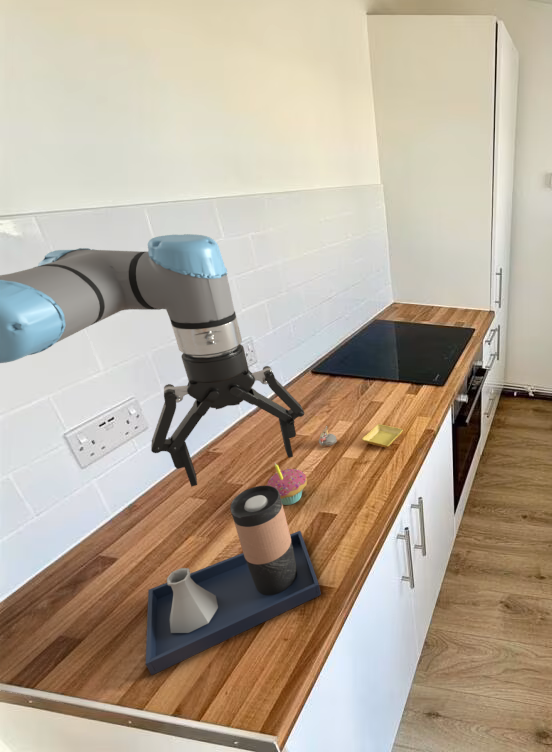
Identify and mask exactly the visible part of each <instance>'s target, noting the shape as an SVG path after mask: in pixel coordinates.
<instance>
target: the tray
mask: <svg viewBox="0 0 552 752" xmlns="http://www.w3.org/2000/svg"><path fill="white" fill-rule="evenodd" d="M290 536H291V541H292V546H293V551H294V557H295V562H296V567H297V576H296V579H295V581H294V582H293V584H292V585H291V586H290V587H289V588H287V589H286V590H284V591H283V592H281V593H278V594H275V595H263V594H261V593H259V592H258V590H257V589H256V586H255V584H254V581H253V579H252V576H251V573H250V570H249V568H248V565H247V562H246V560H245V557H244V554H243V552H241V553H239V554H237V555H234V556H231V557H229V558H226V559H223V560H221V561H219V562H216V563H214V564H211V565H209V566H206V567H203V568H200V569H198V570H195V571H194V572H190V578H191V579H192V580H193V581H194V582H195V583H196V584H197V585H199V586H200V587H202V588H203V589H205V590H207V591H208V592H210V593H212V594H214V595H215V596H216V600H217V604H218V609H217V610H216V612H215V613H214V615H213V617H212V618H211V620H210V622H209V623H208V624H206V625H204V626H202V627H200V628H198V629H196V630H194V631H191V632H189V633H171V629H170V614H171V608H172V601H173V590H172V587H171V586H168V584H167V582H165V583H162V584H160V585H157V586H155V587H151V588H149V589H148V591H147V593H148V594H147V615H146V616H147V618H146V641H145V643H146V646H145V666H146V668H147V670H148V672H149V673H150V675H151V676H153V675H155V674H158V673H160V672H162V671H164V670H166V669H168V668H171V667H172V666H174V665H176V664H179V663H181V662H183V661H185V660H187V659H189V658H191V657H193V656H196V655H198V654H200V653H202V652H204V651H206V650H209V649H211V648H213V647H214V646H217V645H219V644H221V643H223V642H225V641H228V640H229V639H231V638H234V637H236V636H238V635H240V634H241V633H243V632H246V631H248V630H250V629H253V628H254V627H257V626H259V625H261V624H263V623H265V622H268V621H270V620H272V619H273V618H276V617H277V616H280V615H281V614H284V613H286V612H288V611H290V610H292V609H295V608H297V607H299V606H301V605H302V604H305V603H307V602H309V601H311V600H313V599H315V598H317V597H319V596H321V595H322V594H321V589H320V588H321V587H320V584H319V581H318V578H317V575H316V572H315V569H314V566H313V563H312V561H311V557H310V555H309V552H308V549H307V546H306V543H305V540H304V537H303V534H302V531H301V530H298V531H295V532H293V533H290Z"/></svg>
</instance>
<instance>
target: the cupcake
mask: <svg viewBox="0 0 552 752" xmlns="http://www.w3.org/2000/svg"><path fill="white" fill-rule="evenodd" d="M273 465H274V468H275V471H276V472H275V473H274V474H273V475H272V476H270V477H269V479H268V481H267V482H266V485H265V486H272V487H274V488H276V489H277V490H278V491H279V494H280V497H281V501H282V505H283V506H290V505H291V506H292V505H294V504H296V503H297V502H299V501H300V500H301V498H302V494H303V490H304V489H305V488H306V486H307V485H308V478H307V475H306V474H305V472H304V471H302V470H300V469H297V468H286V469H283V470H281V469H280V467H279V464H276V462H274V464H273Z"/></svg>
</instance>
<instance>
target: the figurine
mask: <svg viewBox="0 0 552 752" xmlns="http://www.w3.org/2000/svg"><path fill="white" fill-rule="evenodd" d="M328 429H329V427H328V425H327V424H326V425H325V428H324V429H323V430H322V431H321V433H320V435H319V439H318V443H319V445H320V446H321V447H322V448H325V447H331V446H333V445H335V444H336V443H337V441H338V440H337V436H336V435H335V434H334V433H329V431H328Z"/></svg>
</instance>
